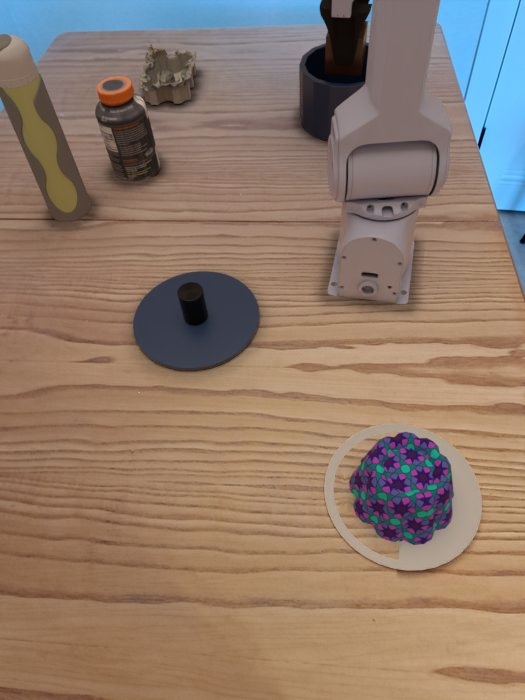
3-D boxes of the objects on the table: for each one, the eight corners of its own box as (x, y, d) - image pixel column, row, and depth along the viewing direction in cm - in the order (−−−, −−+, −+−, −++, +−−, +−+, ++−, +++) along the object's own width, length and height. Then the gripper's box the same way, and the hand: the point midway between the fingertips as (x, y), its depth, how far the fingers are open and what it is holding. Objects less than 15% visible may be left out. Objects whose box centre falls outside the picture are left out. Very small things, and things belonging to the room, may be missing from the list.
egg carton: (154, 69, 88) (148, 42, 85) (202, 69, 88) (198, 41, 84) (138, 106, 82) (131, 78, 79) (190, 106, 81) (185, 78, 78)
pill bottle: (165, 156, 74) (145, 69, 65) (155, 184, 71) (133, 97, 62) (120, 156, 75) (95, 70, 66) (109, 184, 71) (80, 98, 62)
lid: (242, 384, 52) (237, 353, 49) (116, 364, 55) (102, 333, 51) (271, 286, 59) (269, 252, 56) (159, 271, 62) (150, 238, 58)
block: (360, 75, 70) (363, 38, 66) (324, 73, 71) (325, 36, 67) (365, 57, 72) (368, 20, 69) (330, 56, 73) (331, 19, 70)
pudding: (356, 594, 41) (361, 573, 37) (304, 449, 48) (303, 417, 44) (509, 546, 42) (532, 520, 38) (437, 412, 49) (449, 377, 45)
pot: (381, 145, 73) (387, 89, 67) (293, 139, 75) (291, 83, 69) (389, 98, 79) (396, 42, 73) (308, 93, 81) (308, 38, 76)
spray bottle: (95, 219, 68) (29, 45, 52) (54, 229, 67) (-26, 57, 51) (90, 195, 70) (26, 23, 54) (50, 204, 70) (-26, 33, 54)
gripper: (326, -102, 64) (323, 25, 75) (302, -53, 56) (303, 82, 67) (390, -102, 63) (377, 27, 74) (375, -52, 55) (364, 86, 66)
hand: (346, 54), depth 70 cm, fingers closed on block, 4 cm apart
